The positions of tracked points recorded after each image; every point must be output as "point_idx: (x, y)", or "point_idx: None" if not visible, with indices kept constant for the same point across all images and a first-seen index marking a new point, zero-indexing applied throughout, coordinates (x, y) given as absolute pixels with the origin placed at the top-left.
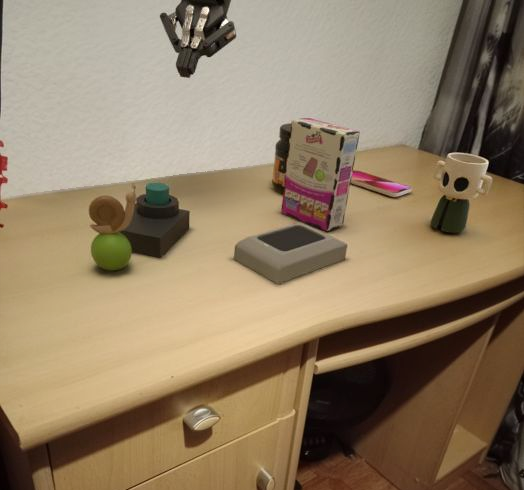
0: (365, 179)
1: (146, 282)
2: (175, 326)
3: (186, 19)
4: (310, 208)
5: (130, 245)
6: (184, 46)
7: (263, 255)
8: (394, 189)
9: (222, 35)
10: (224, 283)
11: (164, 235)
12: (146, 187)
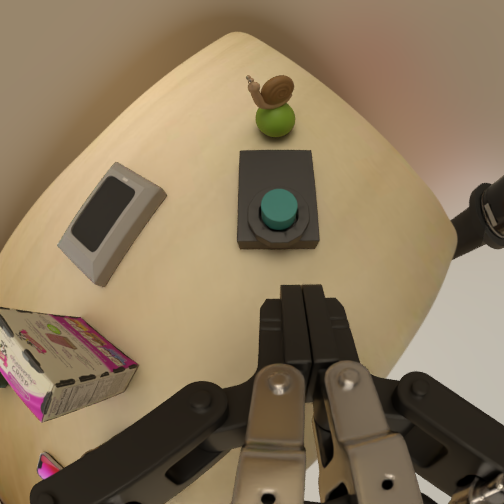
0: None
1: (235, 122)
2: (192, 90)
3: None
4: (89, 334)
5: (257, 119)
6: (337, 363)
7: (129, 171)
8: (46, 466)
9: (98, 450)
10: (168, 148)
11: (239, 161)
12: (291, 193)
